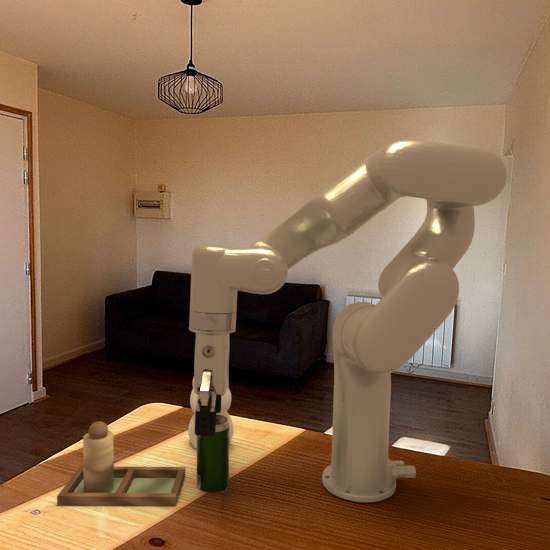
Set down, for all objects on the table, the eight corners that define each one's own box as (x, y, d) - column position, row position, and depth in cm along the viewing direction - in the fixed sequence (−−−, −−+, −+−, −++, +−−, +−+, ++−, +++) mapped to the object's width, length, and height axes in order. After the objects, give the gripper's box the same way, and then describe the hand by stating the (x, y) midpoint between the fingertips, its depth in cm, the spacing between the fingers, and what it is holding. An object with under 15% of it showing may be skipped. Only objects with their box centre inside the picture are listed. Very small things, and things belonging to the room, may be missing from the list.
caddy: (185, 480, 85) (185, 466, 85) (175, 511, 76) (175, 496, 75) (80, 479, 85) (80, 466, 84) (57, 511, 75) (57, 496, 75)
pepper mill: (117, 482, 82) (116, 416, 81) (108, 497, 78) (108, 427, 77) (89, 481, 82) (88, 416, 81) (79, 496, 78) (78, 427, 77)
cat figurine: (183, 459, 93) (184, 382, 92) (193, 431, 106) (194, 363, 104) (231, 460, 93) (232, 383, 92) (235, 432, 106) (236, 364, 104)
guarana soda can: (204, 501, 79) (205, 428, 78) (191, 486, 83) (191, 417, 82) (234, 491, 82) (235, 421, 81) (219, 478, 86) (220, 411, 85)
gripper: (232, 333, 71) (227, 446, 73) (238, 313, 89) (234, 405, 90) (180, 330, 71) (176, 444, 73) (196, 311, 88) (193, 403, 90)
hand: (208, 422), depth 81 cm, fingers open, 9 cm apart
